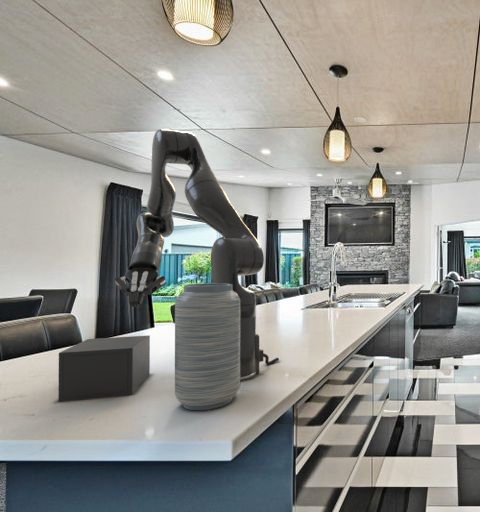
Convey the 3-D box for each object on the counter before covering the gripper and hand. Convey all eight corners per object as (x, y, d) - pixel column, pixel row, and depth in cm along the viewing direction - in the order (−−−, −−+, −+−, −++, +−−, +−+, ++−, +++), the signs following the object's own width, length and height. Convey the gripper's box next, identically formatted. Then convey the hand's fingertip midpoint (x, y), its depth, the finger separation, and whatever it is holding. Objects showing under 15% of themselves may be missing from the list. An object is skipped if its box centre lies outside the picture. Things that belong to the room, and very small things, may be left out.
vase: (210, 417, 68) (210, 286, 68) (159, 409, 72) (160, 285, 72) (252, 395, 79) (252, 283, 79) (206, 389, 83) (207, 282, 83)
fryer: (87, 380, 90) (87, 338, 90) (149, 375, 94) (149, 335, 94) (58, 401, 76) (58, 352, 76) (132, 394, 80) (132, 347, 80)
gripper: (117, 250, 111) (102, 296, 99) (169, 250, 115) (160, 294, 104) (123, 268, 116) (109, 315, 104) (172, 268, 120) (164, 312, 108)
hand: (134, 304), depth 104 cm, fingers closed
